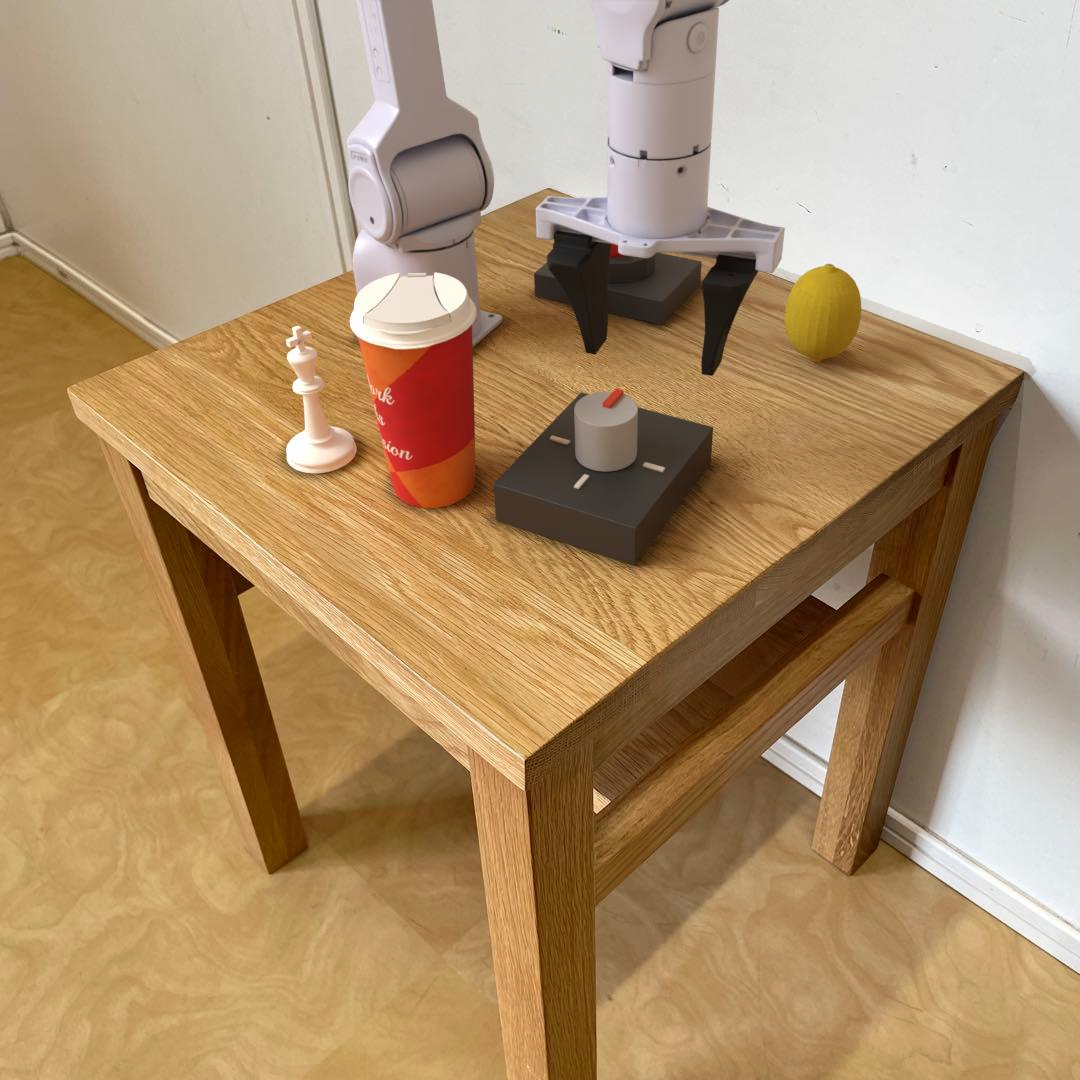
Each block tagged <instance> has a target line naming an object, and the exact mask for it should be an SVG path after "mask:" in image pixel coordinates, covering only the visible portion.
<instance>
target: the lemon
mask: <svg viewBox="0 0 1080 1080" xmlns="http://www.w3.org/2000/svg"><path fill="white" fill-rule="evenodd" d="M861 298H862V297H861V293H860V290H859V287H858V285H857V283H856V281H855V280H854V278H853V277H852V276H851V275H850V274H849V273H848V272H846V271H844V270H843V269H841V268H839V267H836V266H835V265H834V264H832V263H825V264H824V265H822V266H817V267H814V268H811V269H809V270H807V271H806V272H805V273H804V274H802V275H800V277H798V279H797V280H796V281H795V283H794V285H793V287H792V288H791V290H790V292H789V295H788V297H787V301H786V305H785V307H784V330H785V334H786V337H787V339H788V341H789V343H790V344H791V346H792V347H793V348H794V349H795V351H797V352H798V353H799V354H801V355H803V356H804V357H806V358H809V359H810V360H811V361H812V362H815V363H819V362H821V361H823V360H826V359H830V358H833V357H836V356H838V355H839V354H841V353H842V352H844V351H845V350H846V349H847V348H848V347H849V346H850V345H851V343H852V342H853V340H854V339H855V337H856V335H857V333H858V331H859V327H860V324H861V316H862V299H861Z"/></svg>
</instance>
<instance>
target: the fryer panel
mask: <svg viewBox="0 0 1080 1080" xmlns="http://www.w3.org/2000/svg"><path fill="white" fill-rule="evenodd" d="M589 394H590V393H585V392H580V393H579V394H578V395H577V396H576V397H575V398H573V400H572V401H571V402H570V403H569V404H568V405H567V407H565V408H564V409H563V411H562V412H561V413H559V415H558V416H557V417H555V418H554V420H552V422H551V423H550V424H549V425H548V426H547V427H546V428H545V429H544V430H543V431H542V432H541V433H540V434H539V435H538V436H537V437H536V438H535V439H534V441H532V442H531V444H530V445H529V446H528V447H527V448H526V449H525V450H524V451H523V452H522V453H521V454H520V455H519V456H518V457H517V458H516V459H515V460H514V461H513V462H512V463H511V465H509V466H508V467H507V468H506V469H505V470H504V472H502V474H501V475H500V476H499V477H498V478H497V479H496V480H495V481H494V482H493V483H492V490H493V491H492V492H493V501H494V513H495V521H497V522H500V523H503V524H506V525H509V526H511V527H515V528H518V529H521V530H524V531H527V532H531V533H534V534H536V535H539V536H543V537H546V538H548V539H552V540H556V541H558V542H561V543H564V544H567V545H570V546H573V547H576V548H579V549H583V550H585V551H589V552H591V553H594V554H598V555H601V556H604V557H607V558H610V559H613V560H616V561H619V562H621V563H625V564H629V565H631V566H636V565H637V563H638V562H639V561H640V560H641V558H642V557H643V555H644V554H645V553H646V551H647V550H648V549H649V547H650V546H651V544H652V543H653V542H654V541H655V540H656V538H657V537H658V535H659V534H660V533H661V531H662V530H663V529H664V527H665V526H666V524H667V523H668V522H669V521H670V520H671V518H672V516H673V515H674V513H675V512H676V511H677V510H678V508H679V507H680V505H682V503H683V501H684V500H685V499H686V498H687V496H688V495H689V493H690V492H692V490H693V488H694V487H695V485H696V484H697V483H698V481H699V480H700V479H701V477H702V476H703V474H704V473H705V472H706V471H707V469H708V468H709V466H711V463H712V453H713V437H714V427H713V426H711V425H707V424H703V423H700V422H697V421H692V420H688V419H684V418H680V417H676V416H672V415H669V414H665V413H661V412H658V411H654V410H650V409H646V408H643V407H638V406H637V407H638V430H637V457H636V459H635V460H634V462H633V463H632V464H630V465H629V466H627V467H626V468H623V469H620V470H617V471H610V472H602V471H595V470H591V469H588V468H586V467H584V466H583V465H581V464H580V463H579V462H578V460H577V459H576V455H575V421H574V408H575V405H576V403H577V402H578V401H579V400H580V399H581V398H583V397H584V396H586V395H589Z"/></svg>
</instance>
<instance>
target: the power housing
mask: <svg viewBox="0 0 1080 1080" xmlns="http://www.w3.org/2000/svg"><path fill="white" fill-rule="evenodd" d="M702 265H703V261H701V260H697V259H693V258H687V257H683V256H677V255H672V254H669V253H655V254H654V256H652V257H650V258H639V257H632V256H627V257H614V258H613V257H610V259H609V269H608V281H607V305H608V314H611V315H615V316H619V317H623V318H628V319H633V320H637V321H640V322H641V321H642V322H647V323H650V324H655V325H658V326H663V325H664V324H665V323H666V322H667V320H669V319H670V317H672V316H673V314H674V313H675V312H676V311H677V310H678V309H679V308H680V307H681V306H682V305H683V304H684V302H685V301H687V300H688V299H689V297H690V296H691V295H692V294H693V293H694V292H695V291H696V290H697V289H698V288H699V287H700V286H701V284H702V282H701V281H702ZM533 280H534V281H533V283H534V297H537V298H542V299H546V300H550V301H554V302H559V303H563V304H567V305H570V303H569V300H568V298H567V296H566V295H565V293H564V291H563V289H562V288H561V286H560V284H559V283H558V281H557V280H556V278H555V277H554V275H553V274H552V273H551V271H550V270H549V269H548V264H547V262H545V263H544V264H542V265H541V267H539V268H538V269H537V270H536V271H535V272H534V273H533Z"/></svg>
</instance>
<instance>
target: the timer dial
mask: <svg viewBox="0 0 1080 1080" xmlns="http://www.w3.org/2000/svg"><path fill="white" fill-rule="evenodd" d="M624 393H625V392H624V389H619V388H614V389H613V391H598V392H592V393H588V394H589V395H586V396H584V397H583V398H581V399H580V400H579V401H578V402H577V403H576V405H575V408H574V421H575V455H576V459H577V460H578V462H579V463H580V464H581V465H583V466H584V467H586V468H588V469H591V470H595V471H602V472H610V471H617V470H620V469H623V468H626V467H627V466H629V465H630V464H632V463H633V462H634V460H635V459H636V457H637V430H638V404H637V402H636V401H635V400H634V399H633V398H632V397H630V396H628V395H626V394H624Z"/></svg>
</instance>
